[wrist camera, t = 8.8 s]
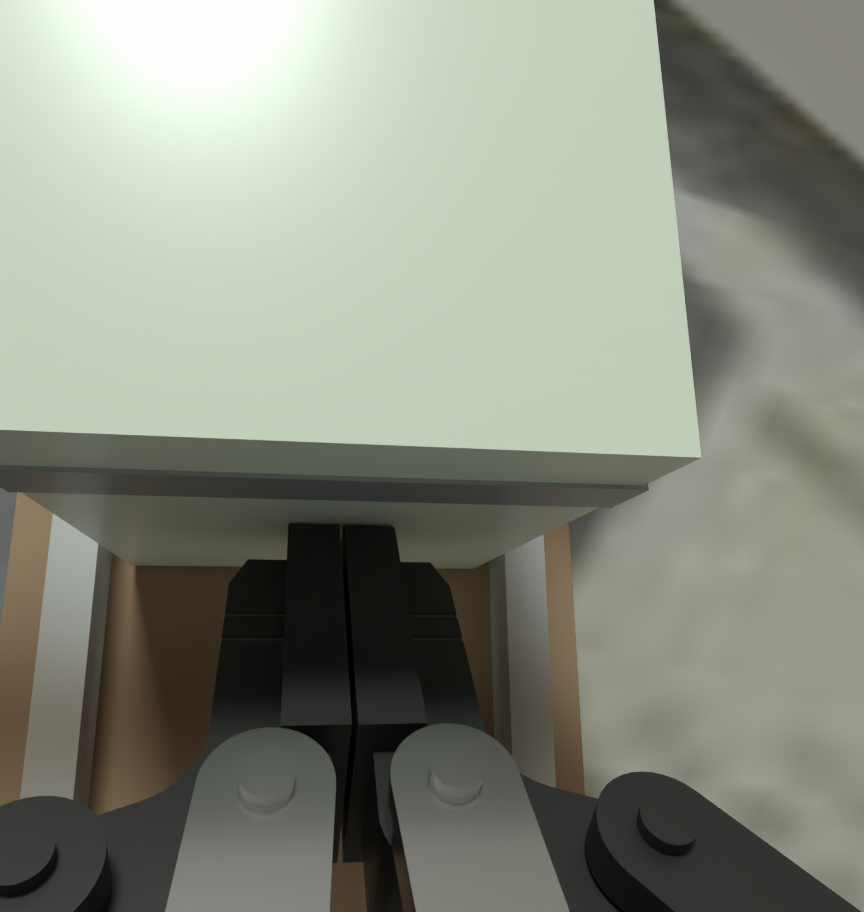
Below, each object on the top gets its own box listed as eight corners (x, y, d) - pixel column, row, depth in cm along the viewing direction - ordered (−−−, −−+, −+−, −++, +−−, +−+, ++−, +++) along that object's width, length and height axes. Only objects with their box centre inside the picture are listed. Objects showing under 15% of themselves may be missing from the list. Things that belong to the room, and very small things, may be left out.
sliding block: (475, 571, 16) (706, 463, 7) (127, 567, 15) (-85, 431, 6) (468, 297, 17) (650, -58, 9) (154, 273, 16) (13, -167, 8)
